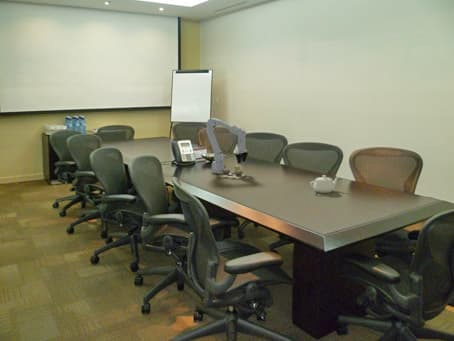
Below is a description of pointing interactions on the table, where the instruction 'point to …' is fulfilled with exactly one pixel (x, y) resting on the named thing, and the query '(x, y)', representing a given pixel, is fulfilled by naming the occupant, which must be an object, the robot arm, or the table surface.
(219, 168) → the robot arm
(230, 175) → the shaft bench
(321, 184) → the teapot
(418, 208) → the table surface
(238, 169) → the coupler
